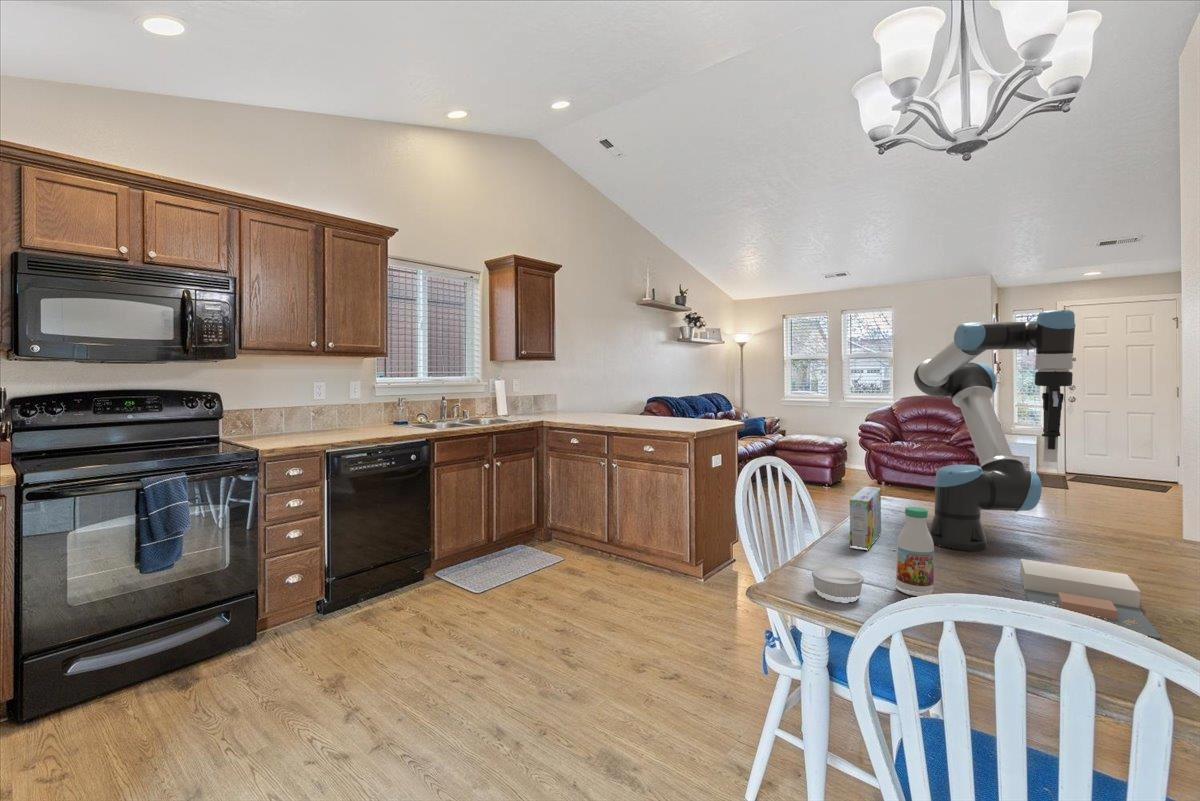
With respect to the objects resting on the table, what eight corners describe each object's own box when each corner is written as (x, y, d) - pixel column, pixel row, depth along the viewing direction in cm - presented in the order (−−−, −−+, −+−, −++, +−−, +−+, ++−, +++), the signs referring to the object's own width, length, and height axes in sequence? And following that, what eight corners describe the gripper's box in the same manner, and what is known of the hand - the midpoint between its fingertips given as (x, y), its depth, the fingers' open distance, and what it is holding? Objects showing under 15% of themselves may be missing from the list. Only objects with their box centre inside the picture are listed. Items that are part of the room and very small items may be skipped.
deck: (1024, 590, 132) (1025, 573, 132) (1020, 574, 142) (1020, 558, 142) (1139, 609, 121) (1140, 591, 121) (1126, 590, 131) (1126, 574, 131)
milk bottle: (888, 586, 135) (890, 505, 134) (918, 584, 136) (921, 504, 135) (909, 599, 127) (911, 513, 126) (940, 597, 128) (943, 512, 127)
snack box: (862, 531, 180) (863, 485, 179) (881, 534, 177) (882, 487, 176) (848, 549, 163) (849, 498, 162) (869, 552, 160) (870, 500, 159)
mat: (1031, 615, 119) (1031, 613, 119) (1024, 590, 132) (1024, 588, 132) (1161, 639, 108) (1161, 638, 108) (1139, 609, 121) (1139, 608, 121)
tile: (1057, 591, 125) (1057, 600, 125) (1061, 601, 120) (1061, 610, 120) (1111, 600, 120) (1110, 609, 120) (1117, 611, 115) (1117, 620, 115)
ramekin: (838, 609, 122) (838, 586, 122) (800, 591, 133) (801, 569, 132) (874, 600, 127) (874, 578, 127) (835, 583, 137) (836, 562, 137)
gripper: (1077, 370, 136) (1072, 466, 137) (1068, 370, 147) (1064, 459, 148) (1038, 371, 140) (1034, 463, 141) (1032, 370, 151) (1029, 456, 152)
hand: (1050, 461), depth 145 cm, fingers closed
